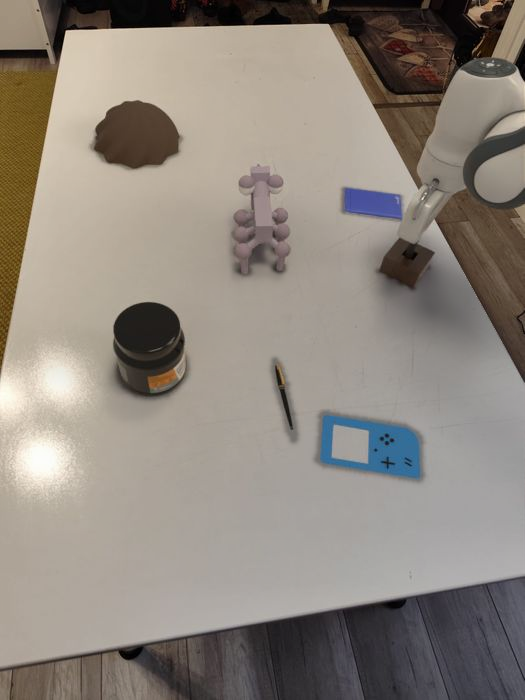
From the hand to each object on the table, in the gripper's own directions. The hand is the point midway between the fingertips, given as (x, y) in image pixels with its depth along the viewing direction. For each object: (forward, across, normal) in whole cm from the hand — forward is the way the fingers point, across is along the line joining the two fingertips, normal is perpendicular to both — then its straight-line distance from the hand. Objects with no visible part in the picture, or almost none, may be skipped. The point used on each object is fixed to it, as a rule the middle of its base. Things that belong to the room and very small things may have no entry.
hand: (418, 232), depth 94 cm
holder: (+10, 0, 0) cm, 10 cm away
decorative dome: (+11, -2, +67) cm, 68 cm away
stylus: (+9, 0, 0) cm, 9 cm away
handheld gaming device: (+10, -38, -12) cm, 41 cm away
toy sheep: (+11, -11, +27) cm, 31 cm away
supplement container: (+11, -47, +23) cm, 53 cm away
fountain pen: (+11, -39, +3) cm, 40 cm away
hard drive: (+10, +14, +14) cm, 22 cm away
